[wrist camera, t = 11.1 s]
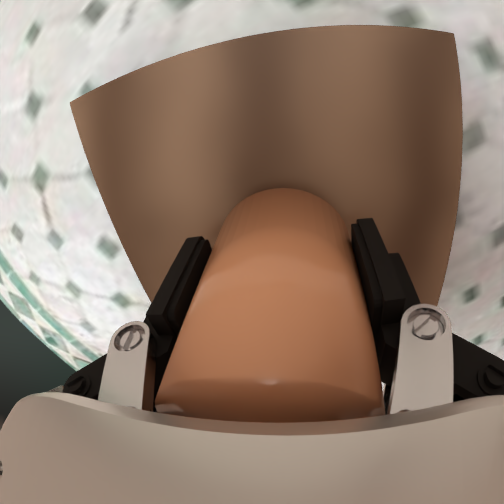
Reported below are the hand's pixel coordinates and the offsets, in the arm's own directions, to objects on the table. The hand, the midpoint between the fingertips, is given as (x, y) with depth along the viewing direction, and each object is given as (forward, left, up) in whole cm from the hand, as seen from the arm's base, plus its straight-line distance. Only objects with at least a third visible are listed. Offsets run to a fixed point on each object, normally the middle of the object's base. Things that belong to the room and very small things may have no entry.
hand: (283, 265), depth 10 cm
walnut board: (0, 0, -4) cm, 4 cm away
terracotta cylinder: (0, 0, -1) cm, 1 cm away
